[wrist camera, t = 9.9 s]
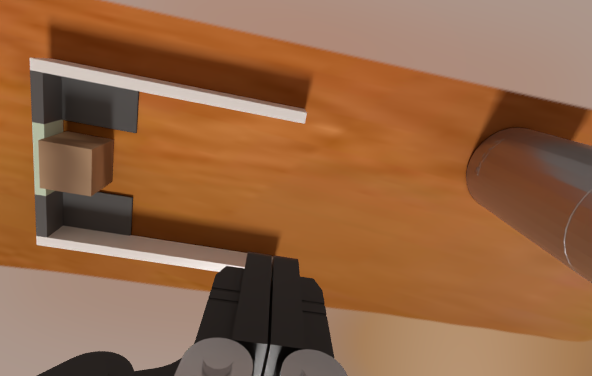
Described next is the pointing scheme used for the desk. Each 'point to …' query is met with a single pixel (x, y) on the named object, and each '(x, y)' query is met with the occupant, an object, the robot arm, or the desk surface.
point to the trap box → (123, 116)
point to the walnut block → (75, 163)
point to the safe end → (38, 133)
